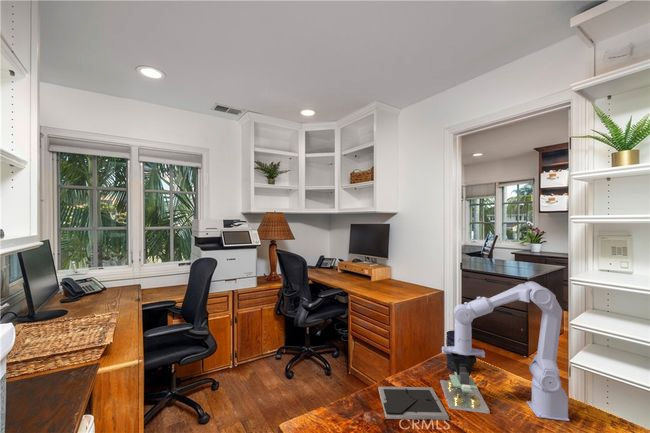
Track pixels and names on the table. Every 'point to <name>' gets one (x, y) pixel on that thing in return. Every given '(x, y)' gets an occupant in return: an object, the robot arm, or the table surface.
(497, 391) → the table surface
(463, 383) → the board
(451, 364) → the storage jar
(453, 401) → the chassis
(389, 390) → the picture frame
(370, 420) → the table surface
